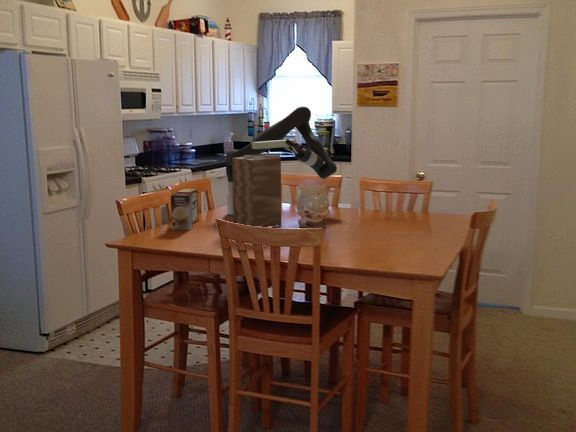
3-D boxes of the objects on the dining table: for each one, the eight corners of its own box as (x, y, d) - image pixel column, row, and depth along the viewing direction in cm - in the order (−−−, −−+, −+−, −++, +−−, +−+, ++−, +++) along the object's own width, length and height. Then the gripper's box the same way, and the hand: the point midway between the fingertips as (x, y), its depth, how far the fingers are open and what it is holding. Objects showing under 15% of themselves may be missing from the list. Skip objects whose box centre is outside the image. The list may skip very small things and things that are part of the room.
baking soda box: (190, 224, 306) (189, 191, 303) (178, 223, 308) (176, 190, 305) (198, 220, 315) (197, 188, 312) (186, 220, 317) (185, 188, 314)
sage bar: (251, 148, 301) (251, 142, 301) (290, 145, 316) (290, 139, 316) (257, 149, 298) (257, 142, 298) (296, 145, 313) (296, 139, 313)
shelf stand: (233, 225, 303) (232, 154, 297) (260, 220, 313) (259, 152, 307) (254, 230, 291) (253, 157, 285) (281, 225, 301) (280, 154, 295)
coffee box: (170, 229, 294) (169, 195, 291) (174, 227, 300) (173, 193, 297) (190, 230, 293) (189, 195, 290) (193, 227, 299) (192, 193, 296)
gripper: (299, 148, 327) (276, 132, 316) (318, 150, 316) (295, 134, 305) (294, 161, 326) (271, 146, 315) (313, 163, 315) (289, 148, 304)
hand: (283, 140), depth 310 cm, fingers closed on sage bar, 4 cm apart
